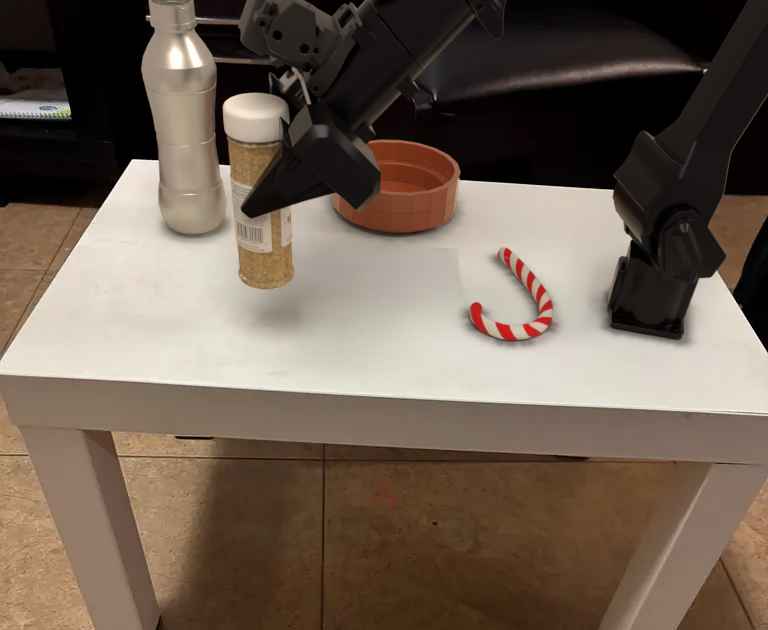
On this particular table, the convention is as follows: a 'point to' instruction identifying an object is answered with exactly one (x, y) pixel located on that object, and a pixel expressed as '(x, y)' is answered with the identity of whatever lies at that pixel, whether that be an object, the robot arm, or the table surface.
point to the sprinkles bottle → (247, 163)
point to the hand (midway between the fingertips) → (243, 198)
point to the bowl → (407, 189)
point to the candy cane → (537, 292)
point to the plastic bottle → (184, 119)
